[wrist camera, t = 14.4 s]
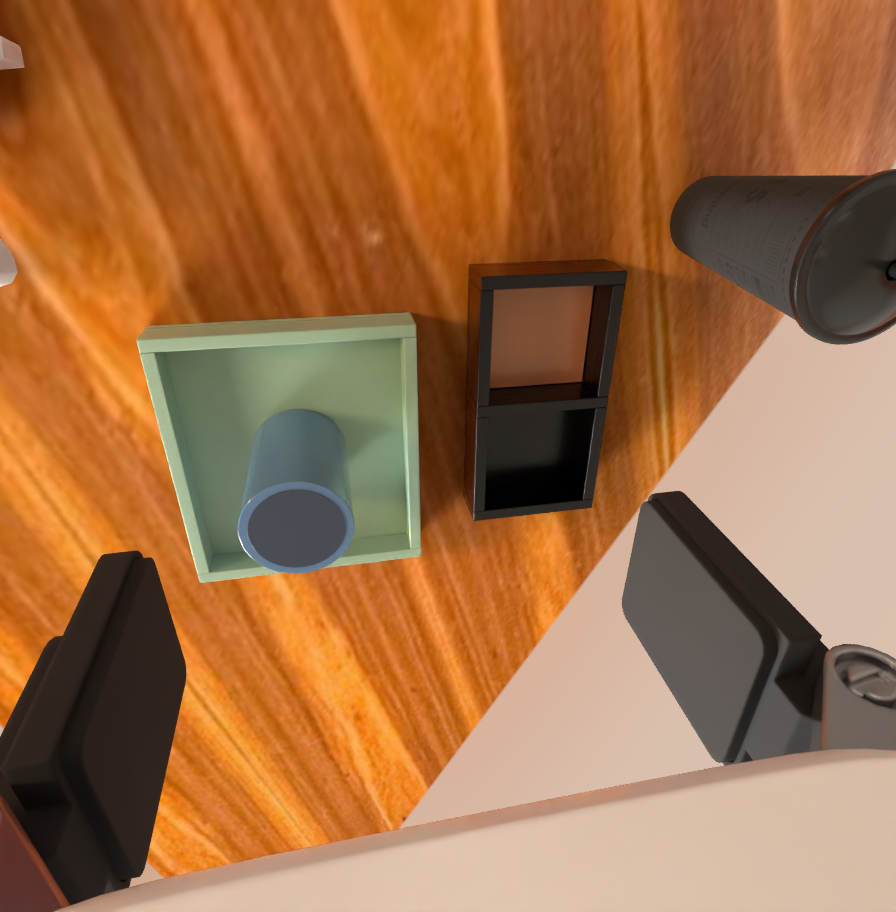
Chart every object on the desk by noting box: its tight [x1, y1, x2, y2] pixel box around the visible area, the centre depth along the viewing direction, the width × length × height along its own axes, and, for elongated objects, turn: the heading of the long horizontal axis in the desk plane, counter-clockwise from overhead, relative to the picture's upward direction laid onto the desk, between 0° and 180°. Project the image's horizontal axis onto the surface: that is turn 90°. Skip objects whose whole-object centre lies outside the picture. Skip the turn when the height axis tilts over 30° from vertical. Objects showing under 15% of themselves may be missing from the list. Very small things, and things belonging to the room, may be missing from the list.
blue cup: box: [238, 409, 355, 574], centre depth 37 cm, size 6×6×9 cm
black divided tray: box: [464, 259, 627, 521], centre depth 41 cm, size 17×9×3 cm, turn 0°
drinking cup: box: [670, 169, 896, 344], centre depth 30 cm, size 8×8×20 cm
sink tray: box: [136, 312, 421, 583], centre depth 40 cm, size 18×16×3 cm
